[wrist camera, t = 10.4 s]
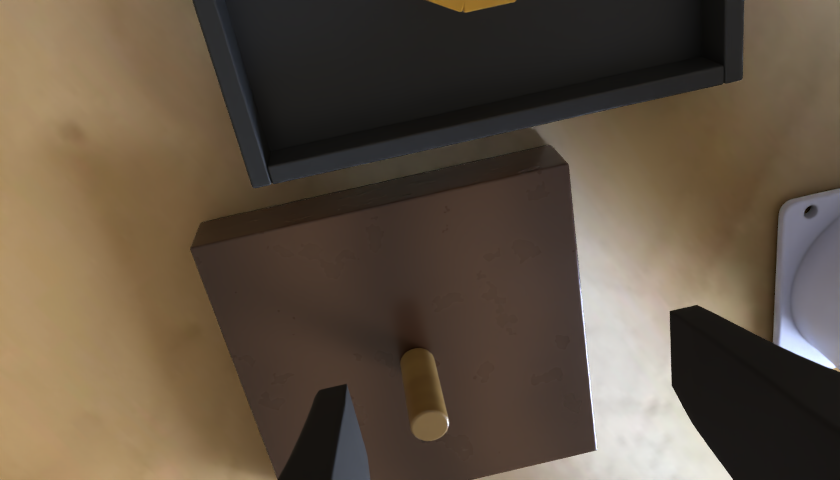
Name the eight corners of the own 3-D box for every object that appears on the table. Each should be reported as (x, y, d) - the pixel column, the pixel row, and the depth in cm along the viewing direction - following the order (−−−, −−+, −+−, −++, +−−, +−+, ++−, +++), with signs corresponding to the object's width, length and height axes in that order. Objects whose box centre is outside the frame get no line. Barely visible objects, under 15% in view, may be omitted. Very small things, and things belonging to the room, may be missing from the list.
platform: (550, 143, 23) (608, 204, 19) (580, 417, 29) (632, 520, 24) (199, 221, 23) (165, 304, 18) (295, 483, 28) (289, 601, 24)
